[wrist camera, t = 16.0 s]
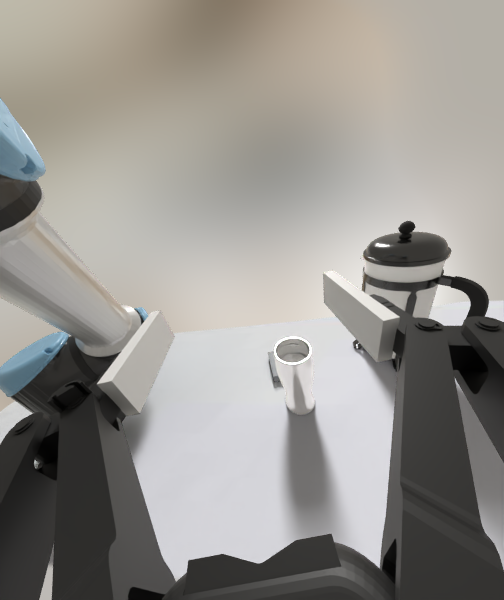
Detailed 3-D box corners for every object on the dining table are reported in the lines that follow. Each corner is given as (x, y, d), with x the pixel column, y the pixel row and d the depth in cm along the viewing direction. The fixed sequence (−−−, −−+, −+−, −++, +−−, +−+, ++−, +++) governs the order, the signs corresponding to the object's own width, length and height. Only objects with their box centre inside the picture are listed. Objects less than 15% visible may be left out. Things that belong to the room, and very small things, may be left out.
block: (310, 368, 44) (299, 345, 51) (273, 376, 44) (267, 352, 51) (311, 375, 45) (300, 351, 52) (274, 383, 45) (269, 358, 52)
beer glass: (300, 380, 44) (293, 331, 37) (324, 403, 38) (322, 350, 31) (277, 398, 41) (265, 348, 34) (299, 425, 36) (290, 372, 29)
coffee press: (358, 372, 43) (370, 240, 28) (348, 327, 55) (353, 221, 41) (458, 380, 36) (537, 218, 22) (421, 328, 49) (456, 204, 35)
